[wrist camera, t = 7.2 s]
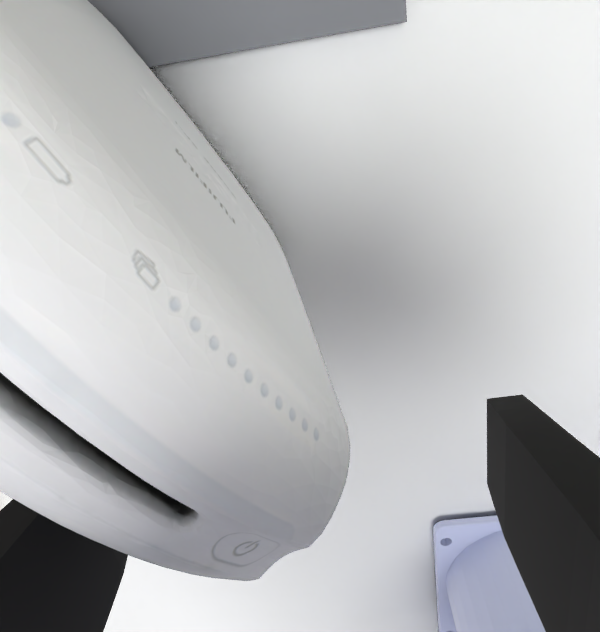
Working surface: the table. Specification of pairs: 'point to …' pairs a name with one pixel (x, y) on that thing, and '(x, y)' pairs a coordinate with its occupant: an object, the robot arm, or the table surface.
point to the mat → (236, 23)
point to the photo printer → (147, 319)
